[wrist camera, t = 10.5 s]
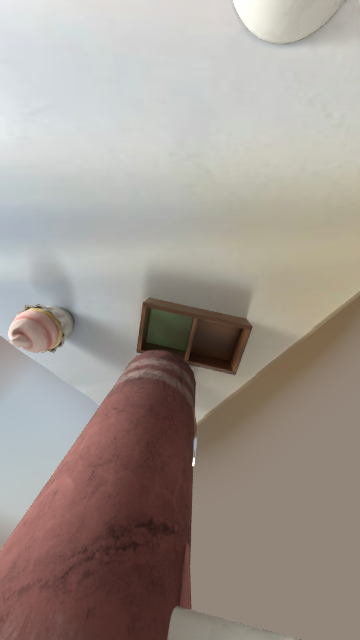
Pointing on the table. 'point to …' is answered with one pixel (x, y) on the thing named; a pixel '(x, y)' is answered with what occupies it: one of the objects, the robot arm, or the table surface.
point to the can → (111, 519)
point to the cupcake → (41, 328)
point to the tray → (193, 335)
